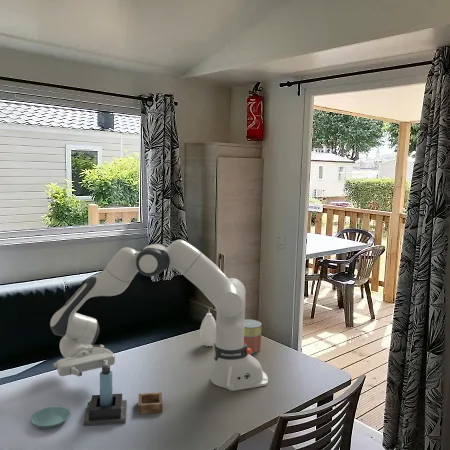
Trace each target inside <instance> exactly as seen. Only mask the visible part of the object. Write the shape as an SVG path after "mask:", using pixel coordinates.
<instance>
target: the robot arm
mask: <svg viewBox="0 0 450 450" xmlns="http://www.w3.org/2000/svg"><path fill="white" fill-rule="evenodd" d="M169 268H173V269H175V270H176V271H178V272H179V273H180V274H181V275H183V276H184V278H186V279H187V280H188V281H189V282H191V283H192V284H193V285H194V286H195V287H196V288H197V289H199V291H201V293H203V295H204V296H205V297H206V298H207V299H208V301H209V302H210V303H212V305H213V306H214V307H215V308H216V320H215V322H216V341H215V342H214V344H213V346H214V347H213V359H214V360H213V367H212V372H211V375H210V378H209V380H210V382H211V383H212V384H214V385H215V386H218V387H221V388H223V389H227V390H229V391H233V392H235V391H241V390H246V389H253V388H258V387H264V386H265V387H266V386H267V385H268V384H269V377H268V375H267V373H266V372H265V371H263V368H262V365H261V363H260V361H259V360H258V359H257V358H255V357H254V356H252V355H251V354H253V353H252V350H251V349H250V348H249V347H248V346H247V345H246V344H245V343H244V323H245V318H246V293H247V292H246V288H245V285H244V283H243V282H242V281H241V280H240V279H237V278H236V277H235V278H234V277H230V278H228V276H227V275H226V274H225V273H224V272H223V271H222V270H221V269H220V268H219V266H218V265H217V264H216V263H214V262H213V261H212V260H211V259H210V258H208V256H206V255H205V254H204V253H203V252H202V251H200V250H199V249H197V247H195V246H194V245H192V244H190V243H189V242H187V241H185V240H183V239H177V240H174V241H173V242H171V243H170V244H169V245H168V246H166V245H165V244H163V243H159V242H154V243H151V244H149V245H147V246H145V247H143V248H141V249H140V250H136V249H135V248H132V247H128V246H127V247H123V248H120V249H119V250H118V251H117V252H116V253H115V254H114V256H113V257H112V258H111V259H110V261H109V262H108V263H107V265H106V266H105V268H104V269H103V270H102V271H101V272H100V273H98V274H97V275H94V276H91V277H89V278H87V279H86V280H85V281H84V283H82V285H81V286H80V287H79V288H78V289H77V290H76V291H75V292H74V293H73V294H72V295H71V296H70V298H69V299H67V301H65V303H64V305H62V306H61V307H60V308H58V309H57V310H56V312H54V313H53V315H52V317H51V318H50V322H49V327H50V330H51V331H52V333H53V334H54V335H55V336H58V337H62V338H61V339H60V341H59V351H60V353H61V355H62V356H63V358H60V359H58V360H56V362H54V363H53V367H54V368H55V369H57V370H56V371H57V373H58V375H59V376H60V377H65V376H71V375H73V376H77V377H81V376H83V373H84V372H88V371H92V370H96V369H100V368H101V369H102V367H103V366H105V365H108V366H110V367H111V366H113V365H115V363H116V354H114V352H112V351H111V350H110V349H108V348H105V345H103V344H95V343H96V341H97V339H98V337H99V335H100V325H99V322H98V321H99V320H98V319H97V318H94V317H92V316H88V315H86V314H85V315H84V314H81V313H78V312H77V311H78V310H80V308H81V307H82V306H83V305H84V303H85V302H86V301H87V300H89V299H90V298H95V297H113V296H115V297H116V296H117V295H120V294H123V292H125V291H126V289H128V287H129V286H130V284H131V282H132V281H133V279H134V278H135V276H136V275H137V274H138V273H140V274H141V275H143V276H144V277H145V276H146V277H154V276H158V275H159V274H161V273H163V272H164V271H165V270H168V269H169Z"/></svg>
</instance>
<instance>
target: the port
mask: <svg viewBox="0 0 450 450" xmlns="http://www.w3.org/2000/svg"><path fill="white" fill-rule="evenodd" d="M90 399H91V400H89V401H88V402H87V403H86V404H87V405H86V409H85V414H84V418H83V427H86V426H87V427H88V426H91V427H92V426H103V425H104V426H105V425H118V424H126V422H127V408H128V407H127V405H128V400H127V399H124V400H123V393H112V406H104V407H100V394H94V395H93V394H92V395H91V398H90Z"/></svg>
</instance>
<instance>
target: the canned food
mask: <svg viewBox="0 0 450 450" xmlns="http://www.w3.org/2000/svg"><path fill="white" fill-rule="evenodd" d="M262 324H263V323H262V322H261V321H259V320H256V319H252V318H250V319H249V318H248V319H247V318H246V319H245V323H244V343H245V344H246V345H247V346H248V347H249V348H250V349H251V350H252V352H256V351H259V350H260V348H261V347H262V346H261V345H262V344H261V343H262ZM260 351H261V350H260ZM260 351H259V352H260ZM256 353H257V352H256Z"/></svg>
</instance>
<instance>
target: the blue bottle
mask: <svg viewBox="0 0 450 450" xmlns="http://www.w3.org/2000/svg"><path fill="white" fill-rule="evenodd" d="M112 394H113V371H112V370H111V365H110V366H108V365H105V366H103V367H101V371H100V372H99V395H100V407H104V406H112Z"/></svg>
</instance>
